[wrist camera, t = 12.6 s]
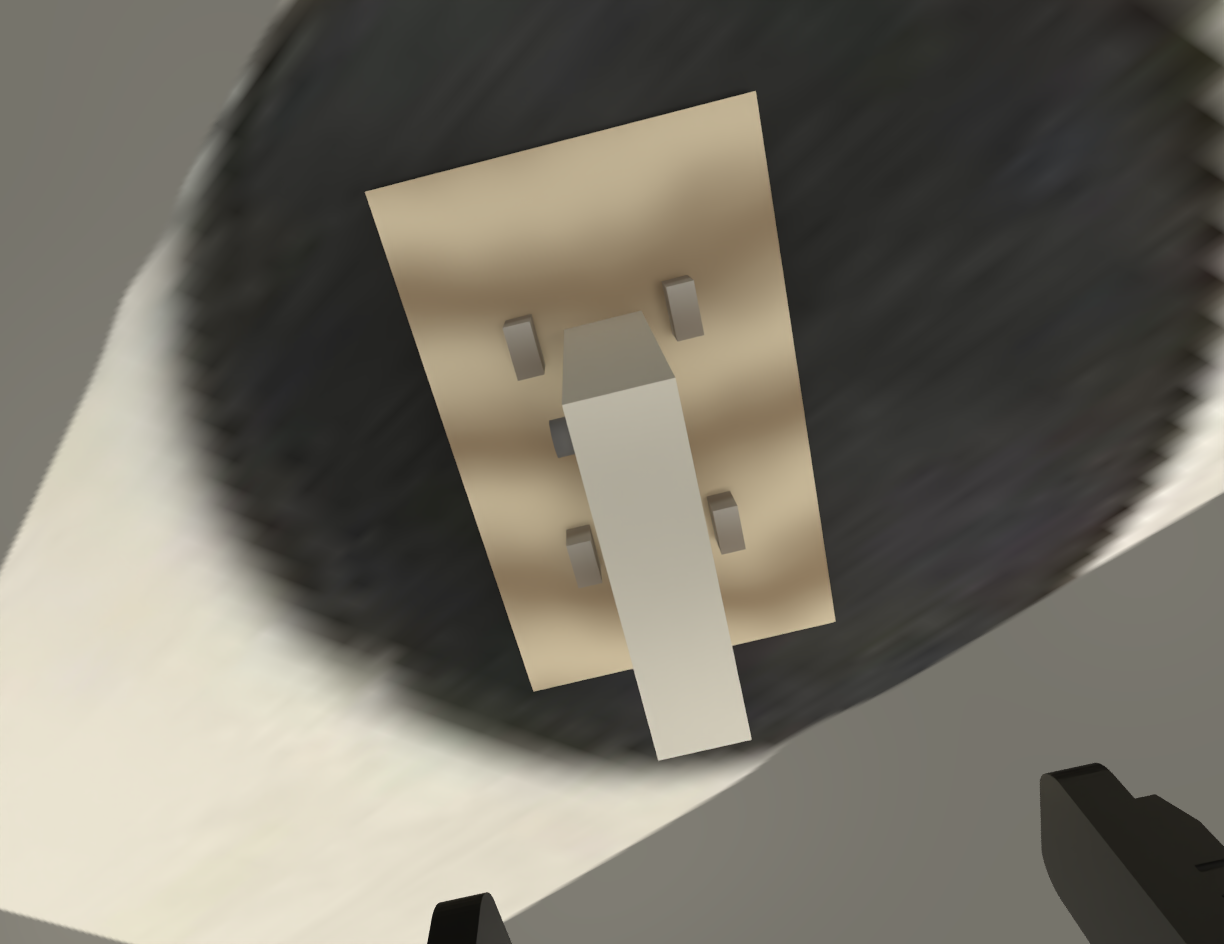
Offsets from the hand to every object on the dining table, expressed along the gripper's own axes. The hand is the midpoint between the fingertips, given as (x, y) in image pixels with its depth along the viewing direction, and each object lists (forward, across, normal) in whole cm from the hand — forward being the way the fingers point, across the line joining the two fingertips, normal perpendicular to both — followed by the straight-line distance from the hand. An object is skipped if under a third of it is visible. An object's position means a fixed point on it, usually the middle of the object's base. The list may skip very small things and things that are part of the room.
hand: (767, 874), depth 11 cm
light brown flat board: (+22, +1, 0) cm, 22 cm away
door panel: (+21, 0, +2) cm, 21 cm away
